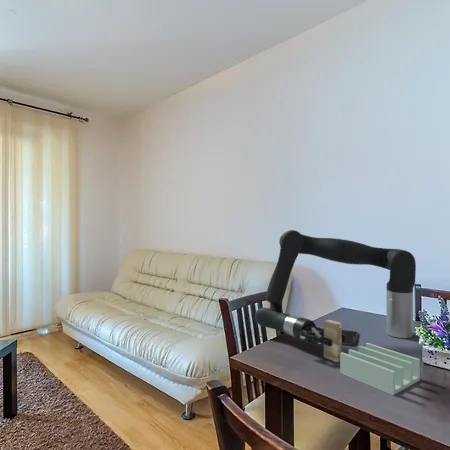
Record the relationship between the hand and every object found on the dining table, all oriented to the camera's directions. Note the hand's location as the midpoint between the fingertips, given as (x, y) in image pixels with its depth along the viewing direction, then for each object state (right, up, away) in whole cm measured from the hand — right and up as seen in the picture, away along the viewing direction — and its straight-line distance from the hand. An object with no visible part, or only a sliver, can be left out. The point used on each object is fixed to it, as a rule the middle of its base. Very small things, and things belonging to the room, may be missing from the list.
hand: (338, 340), depth 111 cm
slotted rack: (+8, -7, -11) cm, 15 cm away
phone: (+10, -7, +21) cm, 24 cm away
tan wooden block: (-1, -6, +2) cm, 7 cm away
